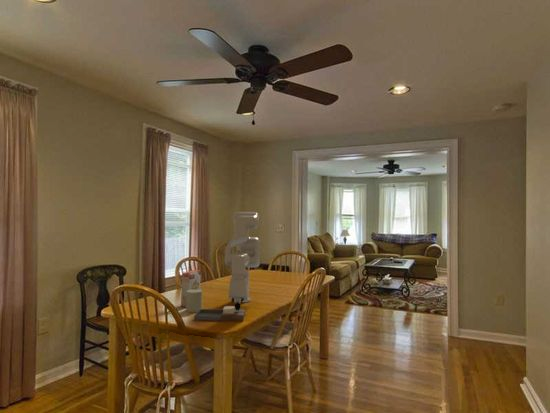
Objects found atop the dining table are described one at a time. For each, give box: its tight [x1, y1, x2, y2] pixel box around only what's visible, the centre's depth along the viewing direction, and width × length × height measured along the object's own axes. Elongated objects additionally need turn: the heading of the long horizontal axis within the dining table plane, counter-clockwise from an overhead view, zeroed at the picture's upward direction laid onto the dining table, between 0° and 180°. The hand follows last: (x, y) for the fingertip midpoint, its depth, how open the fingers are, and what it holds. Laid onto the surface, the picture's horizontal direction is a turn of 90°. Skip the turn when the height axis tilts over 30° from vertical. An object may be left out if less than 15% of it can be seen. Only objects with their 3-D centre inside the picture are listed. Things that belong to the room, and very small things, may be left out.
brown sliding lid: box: [220, 308, 246, 322], centre depth 191 cm, size 14×12×3 cm
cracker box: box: [180, 269, 202, 308], centre depth 218 cm, size 14×6×21 cm, turn 163°
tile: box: [222, 305, 235, 314], centre depth 191 cm, size 6×6×2 cm
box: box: [193, 308, 223, 322], centre depth 191 cm, size 14×14×2 cm
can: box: [185, 288, 203, 313], centre depth 205 cm, size 9×9×12 cm
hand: (237, 310), depth 191 cm, fingers closed
